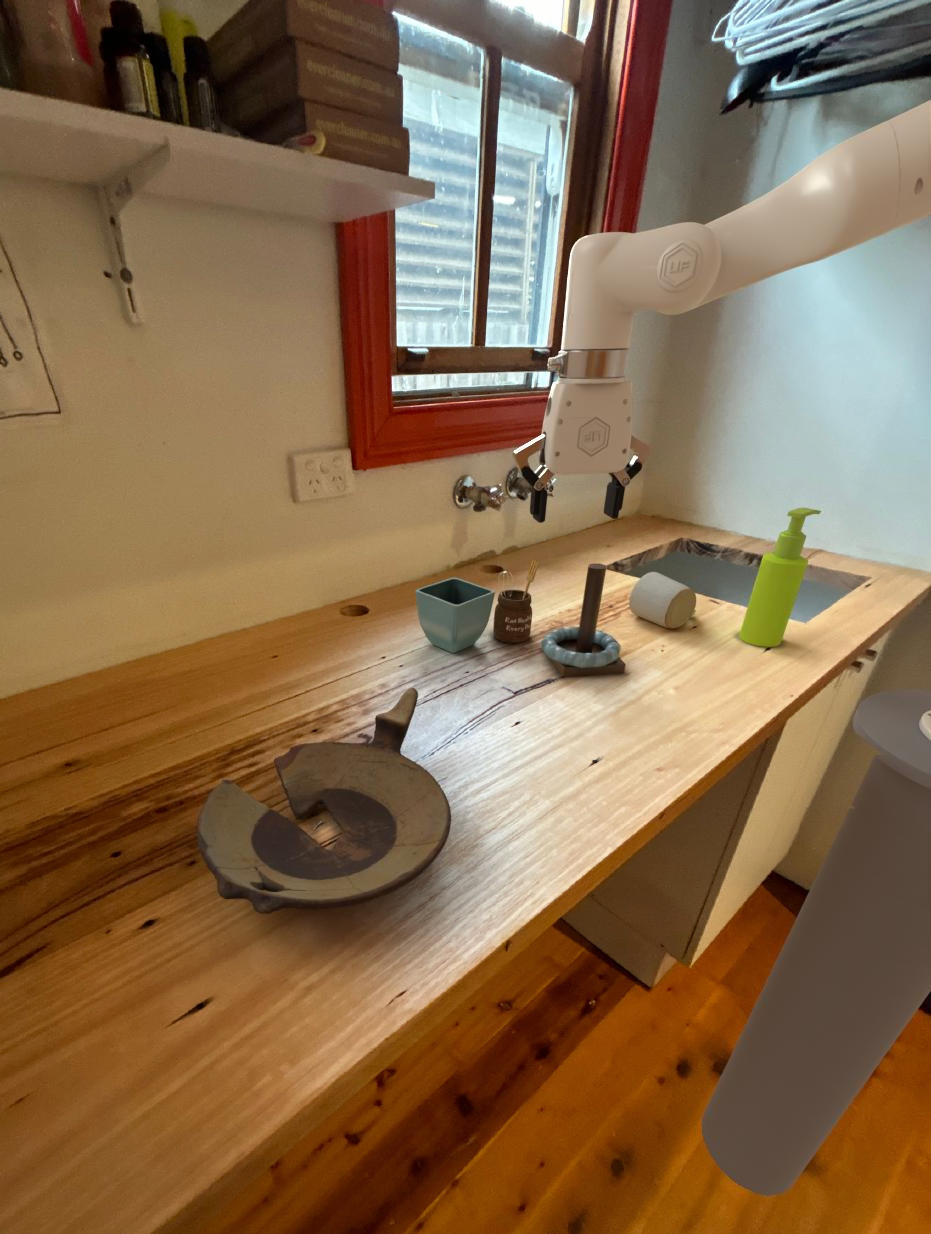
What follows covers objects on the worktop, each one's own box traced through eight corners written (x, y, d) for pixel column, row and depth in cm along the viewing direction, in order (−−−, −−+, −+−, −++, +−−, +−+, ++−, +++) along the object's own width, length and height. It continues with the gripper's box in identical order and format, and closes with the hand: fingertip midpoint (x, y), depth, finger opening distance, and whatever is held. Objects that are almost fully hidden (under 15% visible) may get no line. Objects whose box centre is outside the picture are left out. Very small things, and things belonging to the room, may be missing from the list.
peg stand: (599, 646, 95) (615, 554, 87) (624, 673, 87) (643, 575, 79) (543, 649, 94) (554, 557, 86) (563, 677, 86) (577, 578, 79)
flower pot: (492, 645, 95) (497, 590, 91) (454, 662, 90) (456, 605, 86) (451, 628, 101) (453, 576, 96) (413, 644, 96) (413, 590, 91)
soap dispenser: (792, 639, 96) (837, 510, 86) (766, 650, 93) (810, 517, 83) (756, 627, 100) (795, 502, 90) (731, 636, 97) (768, 509, 87)
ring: (601, 635, 95) (603, 623, 94) (631, 667, 85) (634, 654, 84) (532, 638, 94) (533, 626, 93) (555, 672, 84) (557, 659, 83)
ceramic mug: (664, 635, 98) (675, 589, 94) (624, 618, 104) (633, 574, 100) (705, 622, 102) (718, 578, 99) (665, 606, 108) (675, 564, 105)
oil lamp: (155, 849, 57) (136, 785, 53) (389, 727, 75) (387, 672, 71) (292, 1010, 44) (280, 940, 40) (539, 814, 61) (547, 752, 57)
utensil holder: (485, 632, 99) (490, 560, 93) (518, 625, 101) (525, 555, 95) (504, 646, 95) (511, 572, 89) (538, 639, 97) (547, 566, 91)
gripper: (528, 371, 66) (517, 529, 75) (680, 367, 68) (651, 522, 76) (510, 369, 73) (502, 514, 81) (649, 365, 74) (626, 508, 83)
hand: (574, 518), depth 79 cm, fingers open, 9 cm apart
